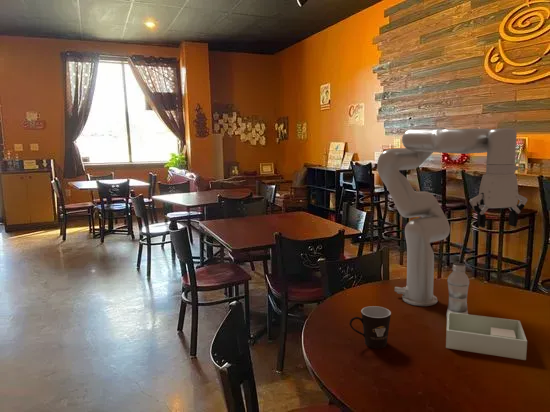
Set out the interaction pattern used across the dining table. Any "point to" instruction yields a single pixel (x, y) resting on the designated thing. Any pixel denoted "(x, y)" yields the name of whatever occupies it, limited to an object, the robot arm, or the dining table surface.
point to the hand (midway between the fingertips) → (496, 226)
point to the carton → (502, 333)
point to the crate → (484, 335)
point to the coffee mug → (374, 326)
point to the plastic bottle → (458, 289)
